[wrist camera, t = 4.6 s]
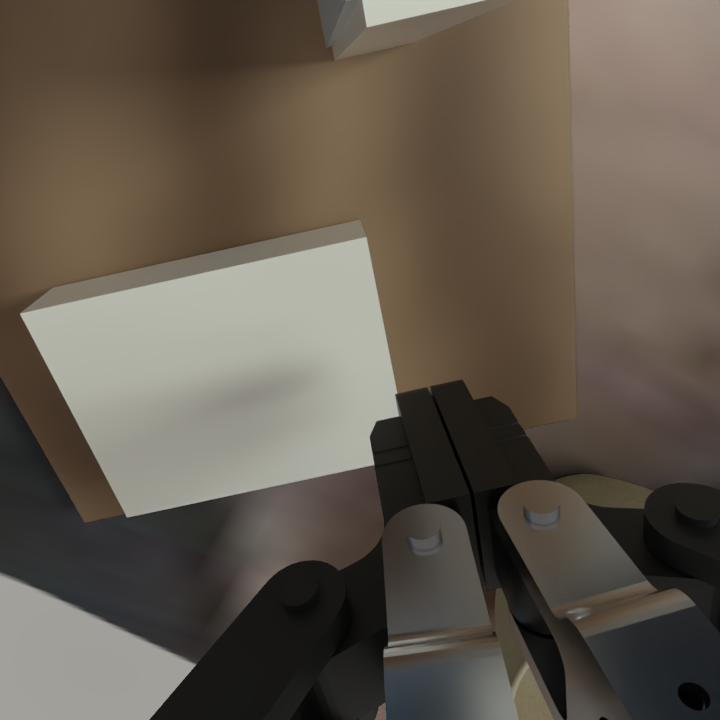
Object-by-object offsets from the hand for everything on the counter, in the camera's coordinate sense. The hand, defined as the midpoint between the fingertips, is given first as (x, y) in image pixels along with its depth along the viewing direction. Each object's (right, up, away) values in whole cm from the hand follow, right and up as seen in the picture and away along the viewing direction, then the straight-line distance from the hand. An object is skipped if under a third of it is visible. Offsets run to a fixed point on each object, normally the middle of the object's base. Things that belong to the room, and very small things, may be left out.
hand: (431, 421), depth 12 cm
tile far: (-1, +2, +4) cm, 5 cm away
